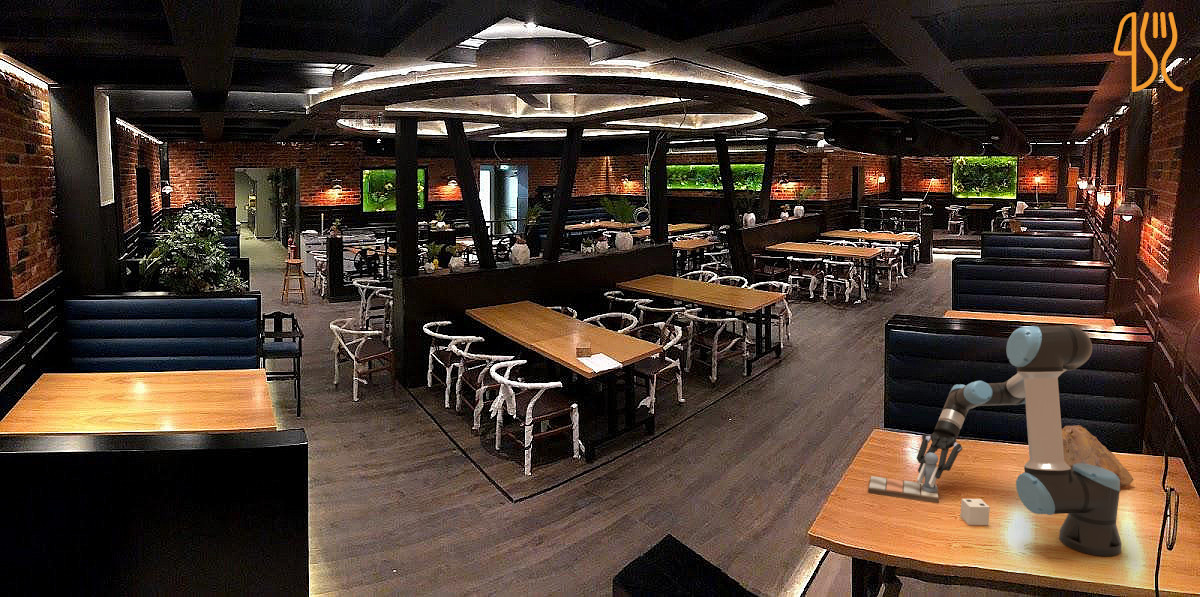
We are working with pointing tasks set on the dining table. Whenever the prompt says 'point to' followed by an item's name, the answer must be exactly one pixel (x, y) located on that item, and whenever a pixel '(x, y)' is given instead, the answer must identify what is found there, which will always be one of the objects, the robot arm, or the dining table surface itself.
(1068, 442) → the rock
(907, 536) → the dining table surface
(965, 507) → the die
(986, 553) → the dining table surface
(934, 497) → the board
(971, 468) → the dining table surface
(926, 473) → the pawn
